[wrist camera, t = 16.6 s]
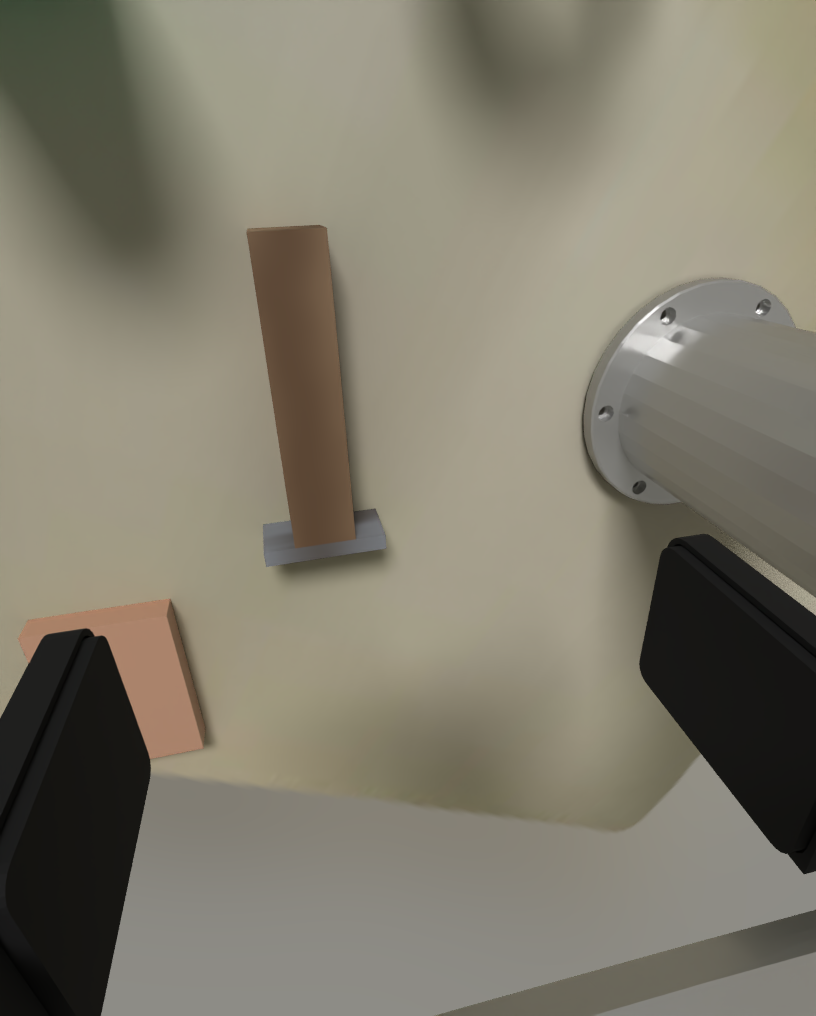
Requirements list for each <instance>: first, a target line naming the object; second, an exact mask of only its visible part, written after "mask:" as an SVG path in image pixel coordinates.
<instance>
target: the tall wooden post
mask: <svg viewBox="0 0 816 1016" xmlns="http://www.w3.org/2000/svg"><path fill="white" fill-rule="evenodd" d="M247 237H248V244H249V250H250V257H251V263H252V270H253V277H254V283H255V290H256V296H257V303H258V309H259V316H260V322H261V329H262V335H263V342H264V349H265V355H266V362H267V368H268V375H269V381H270V388H271V394H272V401H273V407H274V414H275V420H276V427H277V434H278V440H279V447H280V453H281V460H282V466H283V473H284V479H285V486H286V492H287V499H288V506H289V512H290V519H291V521H284V522H277V523H270V524H263V539H264V557H265V562H266V567H269V566H275V565H282V564H288V563H295V562H301V561H308V560H314V559H321V558H327V557H334V556H340V555H347V554H353V553H360V552H366V551H373V550H379V549H386V536H385V532H384V530H383V527H382V525H381V522H380V519H379V517H378V514H377V512H376V509H369V510H362V511H355V512H353V503H352V493H351V482H350V471H349V460H348V450H347V439H346V428H345V418H344V407H343V396H342V386H341V375H340V364H339V353H338V343H337V332H336V321H335V311H334V300H333V289H332V279H331V268H330V257H329V246H328V236H327V228H326V227H323V226H321V225H310V226H290V227H271V228H252V229H247Z"/></svg>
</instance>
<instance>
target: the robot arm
mask: <svg viewBox="0 0 816 1016" xmlns="http://www.w3.org/2000/svg"><path fill="white" fill-rule="evenodd" d="M584 437H585V441H586V446H587V450H588V454H589V456H590V458H591V460H592V462H593V464H594V466H595V468H596V470H597V471H598V472H599V473H600V474H601V475H602V477H603V478H604V479H605V480H606V481H607V482H608V483H609V484H611V485H612V486H613V487H614V488H616V489H617V490H618V491H619V492H621V493H622V494H624V495H626V496H627V497H629V498H631V499H634V500H637V501H641V502H645V503H649V504H673V503H680V502H683V503H684V504H685V505H687V506H688V507H690V508H691V509H692V510H694V511H695V512H697V513H698V514H699V515H701V516H702V517H704V518H705V519H706V520H708V521H709V522H711V523H712V524H713V525H715V526H716V527H718V528H719V529H720V530H722V531H723V532H725V533H726V534H727V535H729V536H730V537H732V538H733V539H734V540H736V541H737V542H739V543H740V544H741V545H743V546H744V547H746V548H747V549H748V550H750V551H751V552H753V553H754V554H755V555H757V556H758V557H760V558H761V559H762V560H764V561H765V562H767V563H768V564H769V565H771V566H772V567H774V568H775V569H776V570H778V571H779V572H781V573H782V574H783V575H785V576H786V577H788V578H789V579H790V580H792V581H793V582H795V583H796V584H797V585H799V586H800V587H802V588H803V589H804V590H806V591H807V592H809V593H810V594H811V595H813V596H814V597H816V333H815V332H810V331H806V330H802V329H798V328H796V326H795V324H794V322H793V320H792V318H791V316H790V313H789V311H788V309H787V308H786V307H785V306H784V305H783V304H782V302H781V301H780V300H779V299H778V298H777V297H776V296H775V295H774V294H772V293H771V292H769V291H768V290H766V289H765V288H763V287H761V286H759V285H756V284H753V283H749V282H746V281H743V280H736V279H729V278H722V277H721V278H708V279H699V280H696V281H692V282H689V283H686V284H682V285H679V286H677V287H675V288H673V289H671V290H669V291H667V292H665V293H663V294H662V295H660V296H658V297H656V298H655V299H654V300H652V301H651V302H650V303H648V304H647V305H646V306H644V307H643V308H642V309H640V310H639V311H638V312H637V313H636V314H635V315H634V316H633V317H632V318H631V319H630V320H629V321H628V322H627V323H626V324H625V325H624V326H623V327H622V328H621V329H620V330H619V332H618V333H617V335H616V336H615V337H614V339H613V340H612V341H611V343H610V344H609V346H608V347H607V348H606V350H605V352H604V354H603V356H602V358H601V359H600V361H599V363H598V365H597V367H596V369H595V371H594V374H593V377H592V380H591V383H590V386H589V389H588V392H587V396H586V403H585V409H584ZM639 665H640V671H641V674H642V677H643V679H644V680H645V682H646V683H647V685H648V686H649V687H650V689H651V690H652V691H653V692H654V694H655V695H656V696H657V698H658V699H659V700H660V701H661V703H662V704H663V705H664V707H665V708H666V709H667V710H668V712H669V713H670V714H671V716H672V717H673V718H674V719H675V721H676V722H677V723H678V725H679V726H680V727H681V728H682V730H683V731H684V732H685V734H686V735H687V736H688V737H689V739H690V740H691V741H692V743H693V744H694V745H695V746H696V748H697V749H698V750H699V752H700V753H701V754H702V755H703V757H704V758H705V759H706V761H707V762H708V763H709V764H710V766H711V767H712V768H713V769H714V771H715V772H716V773H717V775H718V776H719V777H720V778H721V780H722V781H723V782H724V784H725V785H726V786H727V787H728V789H729V790H730V791H731V793H732V794H733V795H734V796H735V798H736V799H737V800H738V802H739V803H740V804H741V805H742V807H743V808H744V809H745V811H746V812H747V813H748V814H749V816H750V817H751V818H752V820H753V821H754V822H755V823H756V825H757V826H758V827H759V829H760V830H761V831H762V832H763V834H764V835H765V836H766V838H767V839H768V840H769V841H770V843H771V844H772V845H773V846H774V847H775V848H776V849H778V850H779V851H780V852H782V853H785V854H788V855H789V856H790V857H791V859H792V860H793V861H794V862H795V864H796V865H797V866H798V868H799V869H800V870H801V871H802V873H803V874H807V873H811V872H814V871H816V616H815V615H814V614H813V613H812V612H810V611H809V610H808V609H806V608H805V607H804V606H802V605H801V604H800V603H798V602H797V601H796V600H794V599H793V598H792V597H791V596H789V595H788V594H787V593H785V592H784V591H783V590H781V589H780V588H779V587H777V586H776V585H775V584H773V583H772V582H771V581H770V580H768V579H767V578H766V577H764V576H763V575H762V574H760V573H759V572H758V571H756V570H755V569H754V568H752V567H751V566H750V565H749V564H747V563H746V562H745V561H743V560H742V559H741V558H739V557H738V556H737V555H735V554H734V553H733V552H731V551H730V550H729V549H728V548H726V547H725V546H724V545H722V544H721V543H720V542H718V541H717V540H716V539H714V538H713V537H711V536H710V535H708V534H700V535H693V536H687V537H680V538H675V539H673V540H671V542H670V543H669V545H668V548H665V549H664V550H663V551H662V553H661V556H660V560H659V565H658V570H657V575H656V580H655V585H654V591H653V596H652V601H651V606H650V611H649V616H648V621H647V626H646V631H645V636H644V641H643V646H642V651H641V656H640V663H639ZM150 772H151V765H150V757H149V753H148V750H147V747H146V745H145V742H144V739H143V736H142V734H141V731H140V728H139V725H138V723H137V720H136V717H135V714H134V711H133V709H132V706H131V703H130V700H129V698H128V695H127V692H126V689H125V687H124V684H123V681H122V678H121V676H120V673H119V670H118V667H117V665H116V662H115V659H114V656H113V654H112V651H111V648H110V645H109V643H108V641H107V639H106V637H105V636H102V635H101V636H94V634H93V632H92V631H91V630H90V629H88V628H84V629H77V630H71V631H64V632H57V633H51V634H47V635H45V636H44V637H43V638H42V640H41V641H40V643H39V645H38V647H37V649H36V651H35V653H34V655H33V656H32V658H31V660H30V662H29V664H28V666H27V668H26V670H25V672H24V674H23V676H22V678H21V680H20V681H19V683H18V685H17V687H16V689H15V691H14V693H13V695H12V697H11V699H10V701H9V703H8V705H7V707H6V708H5V710H4V712H3V714H2V716H1V718H0V1016H101V1012H102V1007H103V1002H104V997H105V993H106V988H107V983H108V978H109V974H110V969H111V963H112V959H113V954H114V949H115V945H116V940H117V935H118V930H119V925H120V920H121V915H122V911H123V906H124V901H125V896H126V892H127V887H128V881H129V877H130V872H131V867H132V863H133V858H134V853H135V848H136V843H137V839H138V834H139V829H140V824H141V819H142V814H143V810H144V805H145V800H146V795H147V790H148V785H149V781H150ZM436 1016H816V910H814V911H810V912H806V913H803V914H799V915H796V916H792V917H788V918H784V919H781V920H777V921H774V922H770V923H766V924H762V925H759V926H755V927H751V928H748V929H744V930H741V931H737V932H733V933H729V934H726V935H722V936H718V937H715V938H711V939H707V940H704V941H700V942H696V943H693V944H689V945H685V946H682V947H678V948H675V949H671V950H668V951H664V952H660V953H657V954H653V955H650V956H647V957H643V958H639V959H635V960H632V961H628V962H624V963H621V964H618V965H614V966H610V967H606V968H603V969H600V970H596V971H592V972H588V973H585V974H581V975H578V976H574V977H571V978H567V979H563V980H560V981H557V982H553V983H549V984H546V985H542V986H538V987H535V988H532V989H528V990H524V991H521V992H517V993H514V994H510V995H506V996H503V997H499V998H496V999H492V1000H488V1001H485V1002H482V1003H478V1004H474V1005H471V1006H467V1007H463V1008H460V1009H456V1010H453V1011H450V1012H446V1013H442V1014H439V1015H436Z"/></svg>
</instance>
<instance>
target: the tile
mask: <svg viewBox="0 0 816 1016" xmlns="http://www.w3.org/2000/svg"><path fill="white" fill-rule="evenodd" d="M84 628H88V629H90V630H91V631H92V632H93V634H94V636H101V635H102V636H105V637H106V639H107V641H108V643H109V645H110V648H111V651H112V654H113V656H114V659H115V662H116V665H117V667H118V670H119V673H120V676H121V678H122V681H123V684H124V687H125V689H126V692H127V695H128V698H129V700H130V703H131V706H132V709H133V711H134V714H135V717H136V720H137V723H138V725H139V728H140V731H141V734H142V736H143V739H144V742H145V745H146V747H147V750H148V753H149V757H150V759H153V758H158V757H163V756H168V755H173V754H178V753H183V752H188V751H193V750H198V749H203V748H204V738H205V725H204V722H203V718H202V714H201V711H200V707H199V703H198V699H197V696H196V692H195V688H194V685H193V681H192V677H191V674H190V670H189V666H188V663H187V659H186V655H185V652H184V648H183V644H182V641H181V637H180V633H179V630H178V626H177V622H176V619H175V615H174V611H173V608H172V604H171V600H170V599H165V600H158V601H151V602H145V603H138V604H131V605H125V606H118V607H111V608H105V609H98V610H92V611H85V612H78V613H72V614H65V615H58V616H52V617H45V618H38V619H32V620H28V621H27V623H26V625H25V627H24V628H23V630H22V632H21V634H20V636H19V638H18V640H19V642H20V645H21V647H22V649H23V651H24V654H25V656H26V658H27V660H28V663H29V662H30V660H31V658H32V656H33V655H34V653H35V651H36V649H37V647H38V645H39V643H40V641H41V640H42V638H43V637H44V636H45V635H47V634H51V633H57V632H64V631H71V630H77V629H84Z"/></svg>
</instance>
